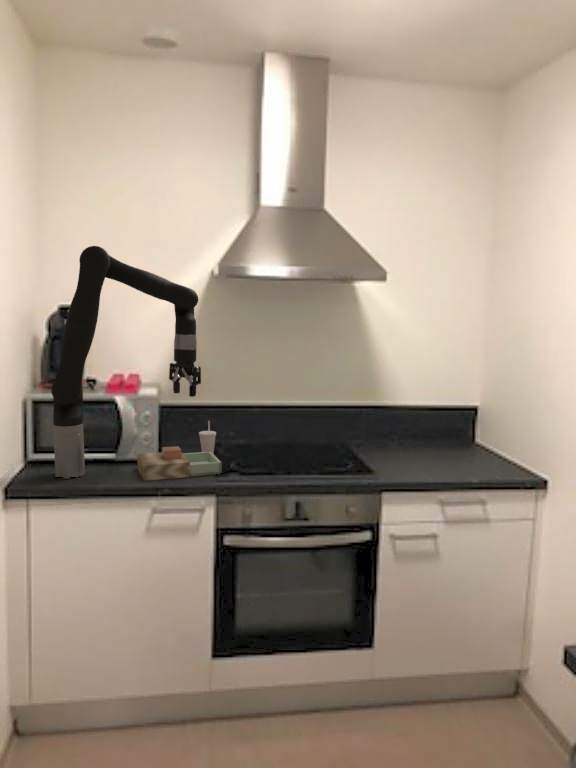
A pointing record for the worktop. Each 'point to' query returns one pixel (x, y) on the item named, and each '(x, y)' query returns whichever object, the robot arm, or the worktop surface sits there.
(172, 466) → the chevron patterned box
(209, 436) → the smoothie
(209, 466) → the box
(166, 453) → the orange brown lump
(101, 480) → the worktop surface
